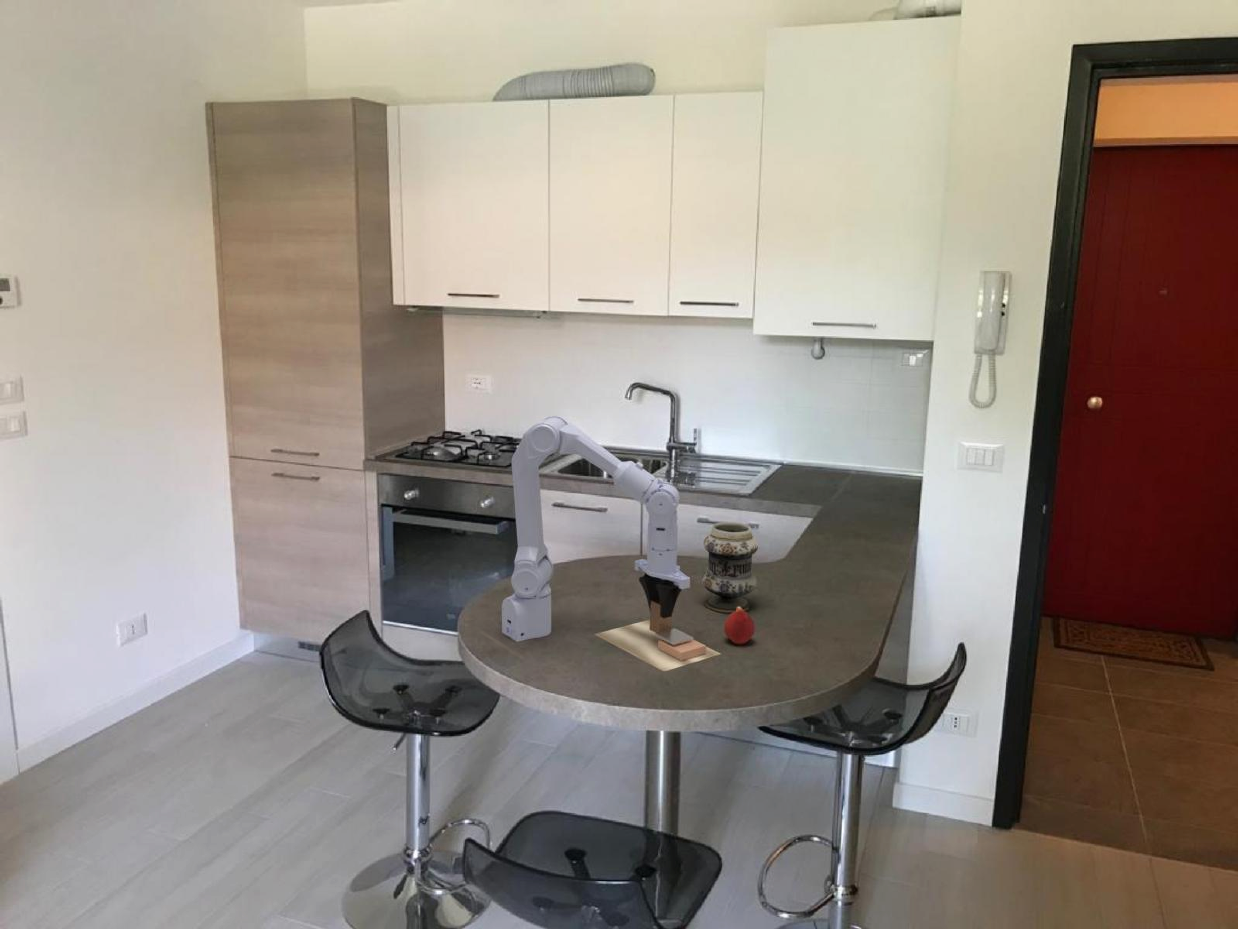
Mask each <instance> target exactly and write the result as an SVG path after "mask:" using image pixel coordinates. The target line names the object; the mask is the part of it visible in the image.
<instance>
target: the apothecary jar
mask: <svg viewBox="0 0 1238 929" xmlns="http://www.w3.org/2000/svg"><path fill="white" fill-rule="evenodd" d="M703 547H704V549H705V550H706V551H707V552H708V560H707V561H708V563H707V569H706V570H704V572H703V574H702V575H701V583H702V584H701V585H702V586H703V587H704V588H705V589H706V590H707V591H708V592H710V593H711V594H714V595H716V596H712V597H710V598H708V599H707V600H706V601H705V606H706V607H707V608H708V609H710V610H712V611H714V612H715V611H716V612H720V613H725V614H726V613H727V614H731V613H733V612H735V611H736V607H741V609H742V610H744V611H745V612H747V611H749V609H750V608H749V606H750V607H751V606H752V605H751V603H750V602H749V601H748V600H746V599H744V598H743V596H746V595H749V594H750V593H751V592H753V591H754V590H755V589H756V587H757V584H758V581H757V578H756V576H755V574H753V572H752V564H753V563H752V562H753V555H754V554H756V552H757V551H758V549H759V543H758V540H757V538H755V536H753V533H752V528H751V527H750V525H748V524H745V523H742V522H741V523H740V522H734V521H730V522H729V521H721V522H717V523H714V524H713V525H712V526H711V531H710V533H709V534H708V535H706V537H705V538H704V540H703Z"/></svg>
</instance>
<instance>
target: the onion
mask: <svg viewBox="0 0 1238 929" xmlns="http://www.w3.org/2000/svg"><path fill="white" fill-rule="evenodd" d="M723 628H724V632H725V635H726V637H727V638H728V639H729V640H730V641H731V643H734V644H736V645H744V644H746V643H748V642H749V641H750V639H752V637H753V636H754V634H755V630H756V629H755V624H754V621H753V618H752V616H751V615H750V614H749V613H747V611H744V610H742V609H741V607H736V611H735V612H733V613H729V615H728V616H727V617H726V620H725V622H724V625H723Z"/></svg>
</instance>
